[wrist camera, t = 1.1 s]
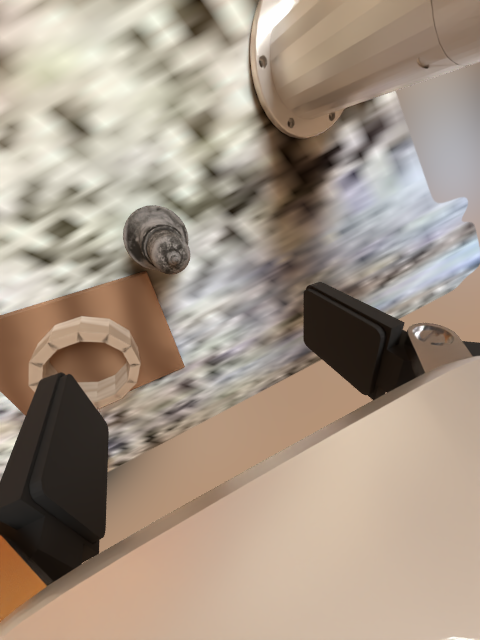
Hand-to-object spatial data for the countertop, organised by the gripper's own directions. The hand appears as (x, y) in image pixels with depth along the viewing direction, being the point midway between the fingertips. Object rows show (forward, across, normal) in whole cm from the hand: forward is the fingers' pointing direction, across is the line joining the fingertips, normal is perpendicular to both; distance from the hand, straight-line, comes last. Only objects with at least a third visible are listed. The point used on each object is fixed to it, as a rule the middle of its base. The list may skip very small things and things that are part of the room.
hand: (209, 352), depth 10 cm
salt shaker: (+21, 0, -1) cm, 21 cm away
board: (+20, +10, +10) cm, 25 cm away
